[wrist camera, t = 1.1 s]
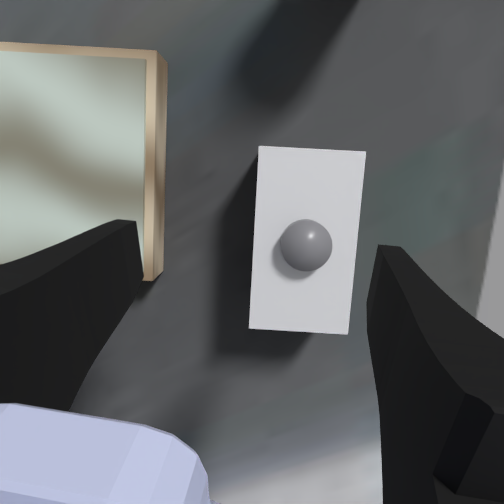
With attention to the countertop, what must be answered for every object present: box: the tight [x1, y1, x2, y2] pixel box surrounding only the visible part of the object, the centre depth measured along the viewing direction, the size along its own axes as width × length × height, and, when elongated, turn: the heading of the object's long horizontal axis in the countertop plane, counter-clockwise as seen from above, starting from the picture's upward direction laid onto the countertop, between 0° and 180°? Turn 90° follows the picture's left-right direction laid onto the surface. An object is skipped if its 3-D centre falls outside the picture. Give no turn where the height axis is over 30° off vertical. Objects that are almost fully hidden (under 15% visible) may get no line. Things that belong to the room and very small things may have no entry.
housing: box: [249, 146, 366, 334], centre depth 23 cm, size 9×5×6 cm, turn 177°
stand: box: [0, 42, 168, 281], centre depth 24 cm, size 12×12×3 cm
